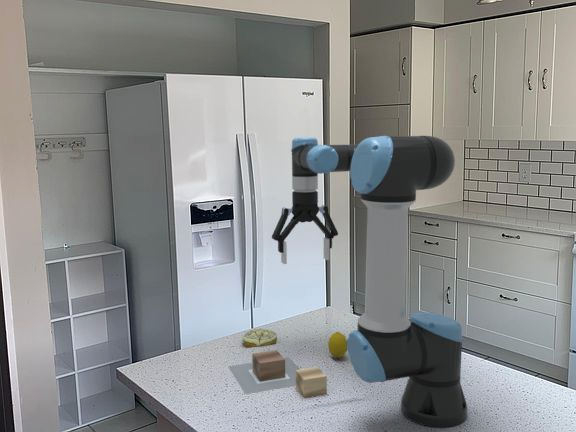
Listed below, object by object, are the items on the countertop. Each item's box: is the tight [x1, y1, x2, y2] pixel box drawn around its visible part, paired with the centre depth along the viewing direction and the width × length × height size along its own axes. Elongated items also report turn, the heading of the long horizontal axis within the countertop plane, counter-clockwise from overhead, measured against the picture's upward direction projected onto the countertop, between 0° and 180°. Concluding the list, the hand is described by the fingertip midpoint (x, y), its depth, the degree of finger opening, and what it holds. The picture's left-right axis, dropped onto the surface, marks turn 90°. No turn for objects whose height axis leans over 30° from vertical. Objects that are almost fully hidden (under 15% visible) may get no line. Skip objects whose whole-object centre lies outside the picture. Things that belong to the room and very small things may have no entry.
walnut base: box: [251, 349, 285, 382], centre depth 154 cm, size 7×7×5 cm
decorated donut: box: [241, 328, 278, 349], centre depth 179 cm, size 10×11×4 cm
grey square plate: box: [227, 356, 301, 395], centre depth 154 cm, size 18×18×1 cm
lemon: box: [328, 331, 348, 359], centre depth 167 cm, size 6×6×8 cm
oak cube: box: [295, 366, 328, 399], centre depth 144 cm, size 6×6×6 cm
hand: (305, 261), depth 172 cm, fingers open, 13 cm apart
